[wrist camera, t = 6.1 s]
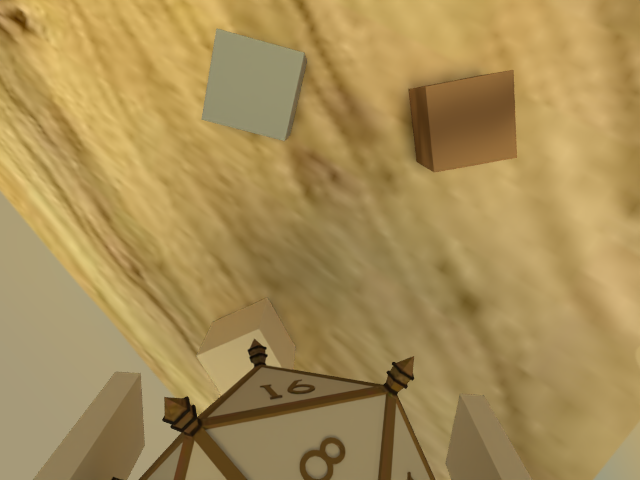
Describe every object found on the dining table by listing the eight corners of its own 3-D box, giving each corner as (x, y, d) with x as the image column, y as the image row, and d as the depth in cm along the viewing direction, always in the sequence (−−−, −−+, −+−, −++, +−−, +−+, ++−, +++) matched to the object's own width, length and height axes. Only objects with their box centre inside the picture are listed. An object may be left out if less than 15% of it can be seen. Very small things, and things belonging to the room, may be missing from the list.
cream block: (295, 346, 35) (291, 384, 31) (242, 369, 36) (230, 409, 31) (267, 297, 34) (258, 328, 29) (213, 321, 35) (196, 356, 30)
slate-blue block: (290, 135, 30) (284, 141, 25) (220, 116, 30) (201, 119, 25) (307, 61, 29) (304, 52, 24) (233, 41, 28) (216, 28, 24)
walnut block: (486, 148, 30) (516, 157, 26) (416, 161, 31) (434, 172, 26) (481, 75, 29) (513, 69, 24) (408, 89, 29) (425, 86, 24)
